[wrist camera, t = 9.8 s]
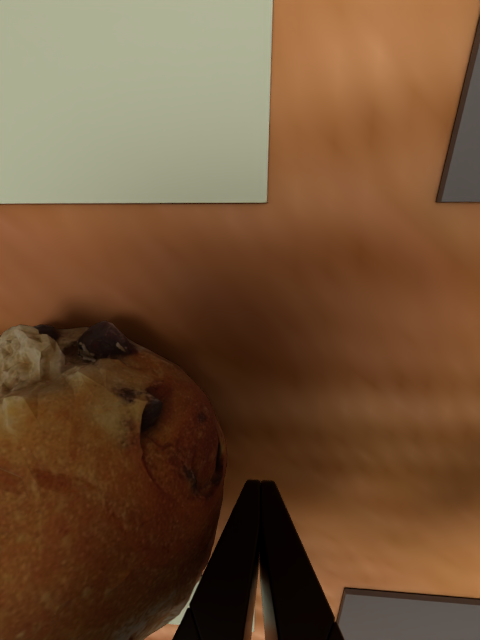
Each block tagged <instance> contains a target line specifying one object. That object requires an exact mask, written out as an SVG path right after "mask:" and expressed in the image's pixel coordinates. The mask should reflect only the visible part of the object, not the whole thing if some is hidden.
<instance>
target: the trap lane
mask: <svg viewBox="0 0 480 640" xmlns="http://www.w3.org/2000/svg"><path fill="white" fill-rule="evenodd" d="M272 9H273V0H0V204H34V203H267V177H268V144H269V110H270V76H271V43H272ZM436 202H480V19H479V24H478V28H477V32H476V36H475V40H474V45H473V49H472V53H471V57H470V62H469V66H468V70H467V74H466V78H465V83H464V87H463V91H462V95H461V100H460V104H459V108H458V112H457V116H456V121H455V125H454V129H453V133H452V138H451V142H450V146H449V150H448V154H447V159H446V163H445V167H444V171H443V176H442V180H441V184H440V188H439V192H438V197H437V201H436ZM201 578H202V576H200V578H199V580H198V582H197V584H196V585H195V587H194V589H193V592H192V594H191V597H190V599H189V601H188V602H187V604H186V606H185V608H184V609H183V610H182V611H181V613H180V614H179V615H178V616H177V617H176V618H174V619H173V620H172V621H170V622H169V623H168V624H177V625H180V623H181V620H182V618H183V616H184V614H185V612H186V610H187V608H189V604H190V601H191V599H192V597H193V595H194V593H195V591H196V588H197V586H198V584H199V582H200V580H201ZM254 614H255V607H254ZM337 623H338V625H339V628H340V630H341V632H342V634H343V637H344V639H345V640H480V600H477V599H465V598H453V597H441V596H429V595H417V594H405V593H393V592H381V591H369V590H358V589H346V588H345V589H344V593H343V598H342V602H341V606H340V610H339V615H338V619H337ZM252 632H254V616H253V625H252Z"/></svg>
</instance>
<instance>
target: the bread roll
mask: <svg viewBox="0 0 480 640" xmlns="http://www.w3.org/2000/svg"><path fill="white" fill-rule="evenodd" d="M53 338H54V339H53ZM226 466H227V448H226V440H225V437H224V434H223V431H222V429H221V427H220V425H219V423H218V421H217V418H216V416H215V414H214V410H213V408H212V406H211V404H210V402H209V400H208V398H207V396H206V395H205V393H204V392H203V391H202V390H201V389H200V388H199V387H198V385H197V384H196V383H195V382H194V381H193V380H192V379H191V378H190V377H189V376H188V375H187V374H186V373H185V372H184V371H183V370H182V369H181V368H180V367H179V366H178V365H177V364H175V363H173V362H171V361H169V360H167V359H165V358H163V357H161V356H159V355H158V354H156V353H154V352H152V351H150V350H149V349H147V348H145V347H142V346H140V345H138V344H136V343H134V342H133V341H132V340H130V339H127V338H126V337H125V335H124V334H123V333H122V332H121V331H120V330H118V329H117V328H116V327H115V325H114V324H112V323H109V322H107V321H102V322H99V323H97V324H95V325H93V326H91V327H80V328H72V329H55V328H54V327H52V326H48V325H38V326H34V327H31V326H27V325H21V324H20V325H18V326H17V327H15V326H13V327H11V328H10V329H8V330H6V331H4V333H3V334H2V335H1V337H0V640H144V639H145V638H146V637H147V636H149V635H150V634H152V633H154V632H155V631H157V630H158V629H160V628H162V627H163V626H165V625H166V624H168V623H169V622H170V621H172V620H173V619H174V618H176V617H177V616H178V615H179V614H180V613H181V611H182V610H183V609H184V608H185V606H186V604H187V602H188V601H189V599H190V597H191V594H192V592H193V589H194V587H195V585H196V584H197V582H198V580H199V578H200V576H201V574H202V572H203V570H204V568H205V567H206V565H207V564H208V561H209V558H210V554H211V551H212V547H213V544H214V539H215V534H216V529H217V523H218V519H219V514H220V510H221V505H222V501H223V486H224V477H225V471H226Z"/></svg>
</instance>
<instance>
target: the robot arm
mask: <svg viewBox="0 0 480 640" xmlns="http://www.w3.org/2000/svg"><path fill="white" fill-rule="evenodd" d="M259 568H260V582H261V594H262V606H263V617H264V629H265V640H345V639H344V637H343V634H342V632H341V630H340V628H339V625H338V623H337V622H336V621H335V617H334V615H333V612H332V610H331V608H330V605H329V603H328V601H327V599H326V596H325V594H324V592H323V590H322V587H321V585H320V583H319V581H318V578H317V576H316V574H315V572H314V569H313V567H312V565H311V563H310V560H309V558H308V556H307V553H306V551H305V549H304V547H303V544H302V542H301V540H300V538H299V535H298V533H297V531H296V529H295V526H294V524H293V522H292V520H291V517H290V515H289V513H288V511H287V508H286V506H285V504H284V502H283V499H282V497H281V495H280V492H279V490H278V488H277V486H276V484H275V482H274V481H269V480H262V481H261V486H260V481H259V480H252V479H248V480H247V481H246V482H245V484H244V487H243V489H242V491H241V493H240V495H239V497H238V500H237V502H236V504H235V506H234V508H233V510H232V513H231V515H230V517H229V519H228V521H227V523H226V526H225V528H224V530H223V532H222V534H221V536H220V539H219V541H218V543H217V545H216V547H215V549H214V552H213V554H212V556H211V558H210V560H209V562H208V565H207V567H206V569H205V571H204V573H203V575H202V578H201V580H200V582H199V584H198V586H197V588H196V591H195V593H194V595H193V597H192V599H191V601H190V604H189V608H187V610H186V612H185V614H184V616H183V618H182V620H181V623H180V625H179V627H178V629H177V631H176V633H175V635H174V637H173V639H172V640H251V634H252V625H253V616H254V607H255V598H256V589H257V580H258V570H259ZM334 621H335V622H334Z"/></svg>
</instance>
